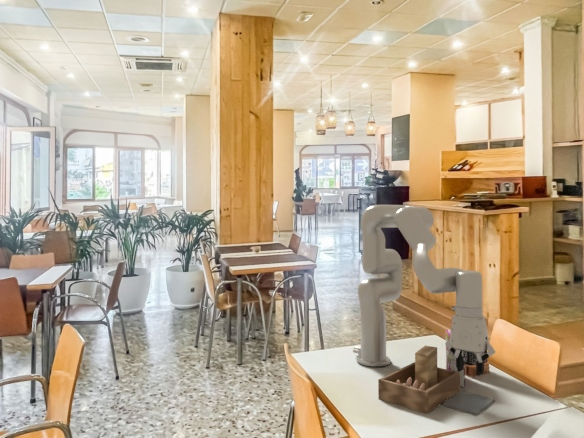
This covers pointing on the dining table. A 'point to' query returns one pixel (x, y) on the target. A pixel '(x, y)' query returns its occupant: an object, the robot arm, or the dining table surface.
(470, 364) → the whiskey bottle
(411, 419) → the dining table surface
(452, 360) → the candy bar box
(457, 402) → the slate pad
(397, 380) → the ammunition
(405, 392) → the caddy
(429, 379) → the oak block
